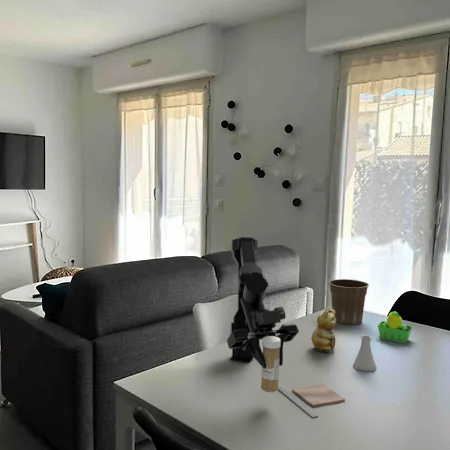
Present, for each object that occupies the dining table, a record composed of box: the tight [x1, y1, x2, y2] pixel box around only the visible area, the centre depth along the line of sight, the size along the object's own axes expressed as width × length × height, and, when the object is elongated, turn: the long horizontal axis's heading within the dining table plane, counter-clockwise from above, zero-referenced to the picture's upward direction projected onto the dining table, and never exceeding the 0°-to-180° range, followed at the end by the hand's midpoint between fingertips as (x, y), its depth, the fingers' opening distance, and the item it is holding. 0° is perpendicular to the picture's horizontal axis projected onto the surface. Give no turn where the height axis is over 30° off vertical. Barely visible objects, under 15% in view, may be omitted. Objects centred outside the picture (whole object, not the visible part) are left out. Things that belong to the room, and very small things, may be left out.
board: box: [292, 384, 346, 408], centre depth 129 cm, size 10×10×1 cm
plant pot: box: [328, 278, 370, 325], centre depth 202 cm, size 16×16×16 cm
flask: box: [352, 334, 377, 372], centre depth 150 cm, size 7×7×10 cm
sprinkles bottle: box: [260, 336, 281, 393], centre depth 123 cm, size 5×5×14 cm
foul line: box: [277, 386, 319, 419], centre depth 126 cm, size 18×2×1 cm, turn 23°
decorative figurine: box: [310, 306, 337, 354], centre depth 165 cm, size 10×8×15 cm
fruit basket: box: [377, 311, 413, 344], centre depth 179 cm, size 11×9×11 cm
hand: (273, 366), depth 121 cm, fingers closed on sprinkles bottle, 4 cm apart
